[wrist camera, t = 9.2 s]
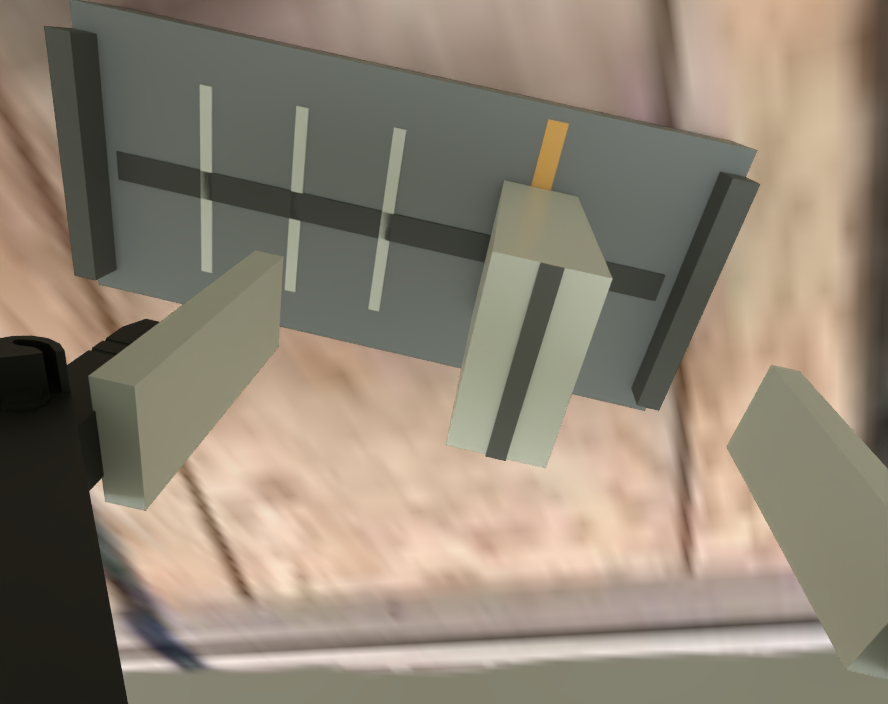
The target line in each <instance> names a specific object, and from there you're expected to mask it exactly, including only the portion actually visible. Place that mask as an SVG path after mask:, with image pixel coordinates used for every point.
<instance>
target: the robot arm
mask: <svg viewBox="0 0 888 704" xmlns="http://www.w3.org/2000/svg"><path fill="white" fill-rule="evenodd" d="M282 275H283V256H279V255H274V254H270V253H265V252H261V251H256V250H255V251H254V252H252V253H251V254H250V255H248V256H247V257H246V258H244V259H243V260H242V261H240V262H239V263H238V264H236V265H235V266H234V267H232V268H231V269H230V270H228V271H227V272H226V273H224V274H223V275H222V276H220V277H219V278H218V279H216V280H215V281H214V282H213V283H211V284H210V285H209V286H207V287H206V288H205V289H203V290H202V291H201V292H199V293H198V294H197V295H195V296H194V297H193V298H191V299H190V300H189V301H187V302H186V303H185V304H183V305H182V306H181V307H179V308H178V309H177V310H175V311H174V312H173V313H171V314H170V315H169V316H167V317H166V318H165V319H163V320H162V321H161V322H158V321H153V320H149V319H144V320H141V321H138V322H135V323H132V324H129V325H126V326H123V327H122V328H120V329H119V330H117V331H116V332H114V333H113V334H111V335H110V336H109V337H107V338H106V340H105V341H101V342H100V343H98V344H97V345H96V346H94V347H93V348H92V351H90V350H88V351H87V352H85V353H84V354H83V355H81V356H80V357H78V358H77V359H75V360H74V361H73V362H71V363H70V364H68V365H67V363H66V357H65V351H64V349H63V348H62V346H61V345H60V343H57V342H55V341H53V340H51V339H49V338H43V337H37V336H10V337H4V338H0V704H128V702H127V696H126V690H125V685H124V679H123V674H122V668H121V663H120V657H119V652H118V647H117V641H116V636H115V630H114V625H113V619H112V614H111V608H110V603H109V597H108V592H107V586H106V581H105V576H104V570H103V565H102V559H101V554H100V548H99V543H98V537H97V532H96V526H95V521H94V516H93V510H92V505H91V499H90V494H89V491H90V490H91V489H92V488H93V487H94V486H95V484H96V483H97V482H98V481H99V480H100V479H101V478H102V482H103V490H104V497H105V502H109V503H113V504H118V505H122V506H127V507H131V508H135V509H140V510H144V511H146V510H147V508H148V507H149V506H150V505H151V503H152V502H153V501H154V500H155V498H156V497H157V496H158V495H159V494H160V492H161V491H162V490H163V489H164V487H165V486H166V485H167V484H168V482H169V481H170V480H171V479H172V478H173V476H174V475H175V474H176V473H177V471H178V470H179V469H180V468H181V466H182V465H183V464H184V463H185V461H186V460H187V459H188V458H189V457H190V455H191V454H192V453H193V452H194V450H195V449H196V448H197V447H198V445H199V444H200V443H201V442H202V440H203V439H204V438H205V437H206V436H207V434H208V433H209V432H210V431H211V429H212V428H213V427H214V426H215V424H216V423H217V422H218V421H219V420H220V418H221V417H222V416H223V415H224V413H225V412H226V411H227V410H228V408H229V407H230V406H231V405H232V403H233V402H234V401H235V400H236V399H237V397H238V396H239V395H240V394H241V392H242V391H243V390H244V389H245V387H246V386H247V385H248V384H249V383H250V381H251V380H252V379H253V378H254V376H255V375H256V374H257V373H258V371H259V370H260V369H261V368H262V366H263V365H264V364H265V363H266V362H267V360H268V359H269V358H270V357H271V355H272V354H273V353H274V352H275V350H276V349H277V348H278V347H279V329H280V311H281V293H282ZM727 449H728V451H729V453H730V454H731V456H732V458H733V460H734V462H735V464H736V466H737V467H738V469H739V471H740V473H741V475H742V477H743V479H744V481H745V482H746V484H747V486H748V488H749V490H750V492H751V494H752V495H753V497H754V499H755V501H756V503H757V505H758V507H759V508H760V510H761V512H762V514H763V516H764V518H765V520H766V522H767V523H768V525H769V527H770V529H771V531H772V533H773V535H774V536H775V538H776V540H777V542H778V544H779V546H780V548H781V549H782V551H783V553H784V555H785V557H786V559H787V561H788V562H789V564H790V566H791V568H792V570H793V572H794V574H795V576H796V577H797V579H798V581H799V583H800V585H801V587H802V589H803V590H804V592H805V594H806V596H807V598H808V600H809V602H810V603H811V605H812V607H813V609H814V611H815V613H816V615H817V617H818V618H819V620H820V622H821V624H822V626H823V628H824V630H825V631H826V633H827V635H828V637H829V639H830V641H831V643H832V644H833V646H834V648H835V650H836V652H837V654H838V656H839V658H840V659H841V661H842V663H843V665H844V667H845V669H846V670H849V671H854V672H858V673H862V674H867V675H871V676H876V677H880V678H885V679H888V469H887V468H886V467H885V466H884V465H883V463H882V462H881V461H880V460H879V459H878V458H877V457H876V456H875V454H874V453H873V452H872V451H871V450H870V449H869V448H868V447H867V446H866V444H865V443H864V442H863V441H862V440H861V439H860V438H859V437H858V436H857V434H856V433H855V432H854V431H853V430H852V429H851V428H850V427H849V425H848V424H847V423H846V422H845V421H844V420H843V419H842V418H841V417H840V415H839V414H838V413H837V412H836V411H835V410H834V409H833V408H832V407H831V405H830V404H829V403H828V402H827V401H826V400H825V399H824V398H823V396H822V395H821V394H820V393H819V392H818V391H817V390H816V389H815V388H814V386H813V385H812V384H811V383H810V382H809V381H808V380H807V379H806V378H805V376H804V375H803V374H802V373H801V372H800V371H796V370H792V369H787V368H783V367H778V366H774V365H771V366H770V368H769V370H768V372H767V374H766V376H765V377H764V379H763V381H762V383H761V385H760V387H759V388H758V390H757V392H756V394H755V396H754V398H753V399H752V401H751V403H750V405H749V407H748V409H747V410H746V412H745V414H744V416H743V418H742V419H741V421H740V423H739V425H738V427H737V429H736V430H735V432H734V434H733V436H732V438H731V440H730V441H729V443H728V445H727Z"/></svg>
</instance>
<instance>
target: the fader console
mask: <svg viewBox="0 0 888 704" xmlns="http://www.w3.org/2000/svg"><path fill="white" fill-rule="evenodd" d="M70 9H71V19H72V28H62V27H51V26H44V30H45V38H46V46H47V54H48V62H49V71H50V79H51V87H52V95H53V103H54V111H55V120H56V128H57V136H58V144H59V152H60V160H61V169H62V177H63V185H64V193H65V201H66V209H67V218H68V226H69V234H70V242H71V250H72V258H73V267H74V275H75V276H79V277H83V278H87V279H92V280H98V283H99V285H103V286H107V287H111V288H116V289H120V290H124V291H129V292H133V293H137V294H142V295H146V296H150V297H155V298H159V299H163V300H168V301H172V302H176V303H181V304H185V303H186V302H187V301H189V300H190V299H191V298H193V297H194V296H195V295H197V294H198V293H199V292H201V291H202V290H203V289H205V288H206V287H207V286H209V285H210V284H211V283H213V282H214V281H215V280H216V279H218V278H219V277H220V276H222V275H223V274H224V273H226V272H227V271H228V270H230V269H231V268H232V267H234V266H235V265H236V264H238V263H239V262H240V261H242V260H243V259H244V258H246V257H247V256H248V255H250V254H251V253H252V252H254V251H255V250H256V251H261V252H265V253H270V254H274V255H279V256H283V275H282V293H281V311H280V327H284V328H289V329H293V330H297V331H302V332H306V333H310V334H315V335H319V336H323V337H328V338H332V339H336V340H341V341H345V342H349V343H354V344H358V345H362V346H367V347H371V348H375V349H380V350H384V351H388V352H393V353H397V354H401V355H406V356H410V357H414V358H418V359H423V360H427V361H431V362H436V363H440V364H444V365H449V366H453V367H457V368H462V363H463V358H464V353H465V348H466V343H467V338H468V333H469V328H470V323H471V319H472V314H473V310H474V305H475V301H476V297H477V293H478V289H479V284H480V280H481V276H482V272H483V267H484V263H485V259H486V255H487V251H488V246H489V242H490V238H491V234H492V229H493V225H494V221H495V217H496V213H497V208H498V204H499V200H500V196H501V191H502V187H503V183H504V180H506V181H510V182H515V183H519V184H523V185H528V186H532V187H537V188H541V189H546V190H550V191H555V192H559V193H564V194H568V195H573V196H577V197H578V198H579V200H580V203H581V205H582V208H583V210H584V212H585V215H586V217H587V219H588V222H589V224H590V226H591V229H592V231H593V234H594V236H595V238H596V241H597V243H598V245H599V248H600V250H601V252H602V255H603V257H604V260H605V262H606V264H607V267H608V269H609V271H610V274H611V276H612V278H613V279H612V282H611V285H610V287H609V290H608V293H607V296H606V299H605V302H604V304H603V307H602V310H601V313H600V316H599V318H598V321H597V324H596V327H595V330H594V333H593V335H592V338H591V341H590V344H589V347H588V350H587V352H586V355H585V358H584V361H583V364H582V367H581V369H580V372H579V375H578V378H577V381H576V384H575V386H574V389H573V392H572V394H574V395H578V396H583V397H587V398H591V399H596V400H600V401H604V402H609V403H613V404H617V405H622V406H626V407H630V408H635V409H639V410H643V411H645V409H646V408H650V409H654V410H660V407H661V405H662V403H663V401H664V399H665V396H666V394H667V392H668V390H669V387H670V385H671V383H672V381H673V378H674V376H675V374H676V372H677V369H678V367H679V365H680V363H681V360H682V358H683V356H684V354H685V352H686V349H687V347H688V345H689V343H690V340H691V338H692V336H693V334H694V331H695V329H696V327H697V325H698V322H699V320H700V318H701V316H702V314H703V311H704V309H705V307H706V305H707V302H708V300H709V298H710V296H711V293H712V291H713V289H714V287H715V284H716V282H717V280H718V278H719V275H720V273H721V271H722V269H723V267H724V264H725V262H726V260H727V258H728V255H729V253H730V251H731V249H732V246H733V244H734V242H735V240H736V237H737V235H738V233H739V231H740V228H741V226H742V224H743V222H744V220H745V217H746V215H747V213H748V211H749V208H750V206H751V204H752V202H753V199H754V197H755V195H756V193H757V190H758V188H759V186H760V184H759V183H757V182H755V181H753V180H751V179H749V178H747V177H746V175H747V173H748V171H749V168H750V166H751V164H752V162H753V159H754V157H755V155H756V152H757V150H755V149H752V148H749V147H747V146H744V145H741V144H738V143H735V142H733V141H729V140H724V139H720V138H715V137H711V136H706V135H702V134H697V133H693V132H688V131H683V130H679V129H674V128H670V127H665V126H661V125H656V124H652V123H647V122H642V121H638V120H633V119H629V118H624V117H620V116H615V115H611V114H606V113H602V112H597V111H592V110H588V109H583V108H579V107H574V106H570V105H565V104H561V103H556V102H551V101H547V100H542V99H538V98H533V97H529V96H524V95H520V94H515V93H510V92H506V91H501V90H497V89H492V88H488V87H483V86H479V85H474V84H469V83H465V82H460V81H456V80H451V79H447V78H442V77H438V76H433V75H429V74H424V73H419V72H415V71H410V70H406V69H401V68H397V67H392V66H388V65H383V64H378V63H374V62H369V61H365V60H360V59H356V58H351V57H347V56H342V55H337V54H333V53H328V52H324V51H319V50H315V49H310V48H306V47H301V46H296V45H292V44H287V43H283V42H278V41H274V40H269V39H265V38H260V37H256V36H251V35H246V34H242V33H237V32H233V31H228V30H224V29H219V28H215V27H210V26H205V25H201V24H196V23H192V22H187V21H183V20H178V19H174V18H169V17H164V16H160V15H155V14H151V13H146V12H142V11H137V10H133V9H128V8H123V7H119V6H112V5H106V4H99V3H92V2H85V1H79V0H70Z"/></svg>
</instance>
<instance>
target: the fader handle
mask: <svg viewBox="0 0 888 704" xmlns="http://www.w3.org/2000/svg"><path fill="white" fill-rule="evenodd" d="M612 279H613V278H612V276H611V274H610V271H609V269H608V267H607V264H606V262H605V260H604V257H603V255H602V252H601V250H600V248H599V245H598V243H597V241H596V238H595V236H594V234H593V231H592V229H591V226H590V224H589V222H588V219H587V217H586V215H585V212H584V210H583V208H582V205H581V203H580V200H579V198H578V197H577V196H573V195H568V194H564V193H559V192H555V191H550V190H546V189H541V188H537V187H532V186H528V185H523V184H519V183H515V182H510V181H506V180H504V183H503V187H502V191H501V196H500V200H499V204H498V208H497V213H496V217H495V221H494V225H493V229H492V234H491V238H490V242H489V246H488V251H487V255H486V259H485V263H484V267H483V272H482V276H481V280H480V284H479V289H478V293H477V297H476V301H475V305H474V310H473V314H472V319H471V323H470V328H469V333H468V338H467V343H466V348H465V353H464V358H463V363H462V368H461V373H460V378H459V382H458V387H457V392H456V397H455V402H454V407H453V412H452V417H451V422H450V427H449V432H448V436H447V441H446V445H449V446H453V447H457V448H461V449H466V450H470V451H474V452H478V453H483V454H486V455H485V456H486V457H491V458H495V459H499V460H503V461H506V459H508V460H512V461H517V462H521V463H525V464H530V465H534V466H538V467H542V468H546V466H547V463H548V460H549V457H550V454H551V451H552V449H553V446H554V443H555V440H556V437H557V434H558V432H559V429H560V426H561V423H562V420H563V417H564V415H565V412H566V409H567V406H568V403H569V401H570V398H571V395H572V392H573V389H574V386H575V384H576V381H577V378H578V375H579V372H580V369H581V367H582V364H583V361H584V358H585V355H586V352H587V350H588V347H589V344H590V341H591V338H592V335H593V333H594V330H595V327H596V324H597V321H598V318H599V316H600V313H601V310H602V307H603V304H604V302H605V299H606V296H607V293H608V290H609V287H610V285H611V282H612Z"/></svg>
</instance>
